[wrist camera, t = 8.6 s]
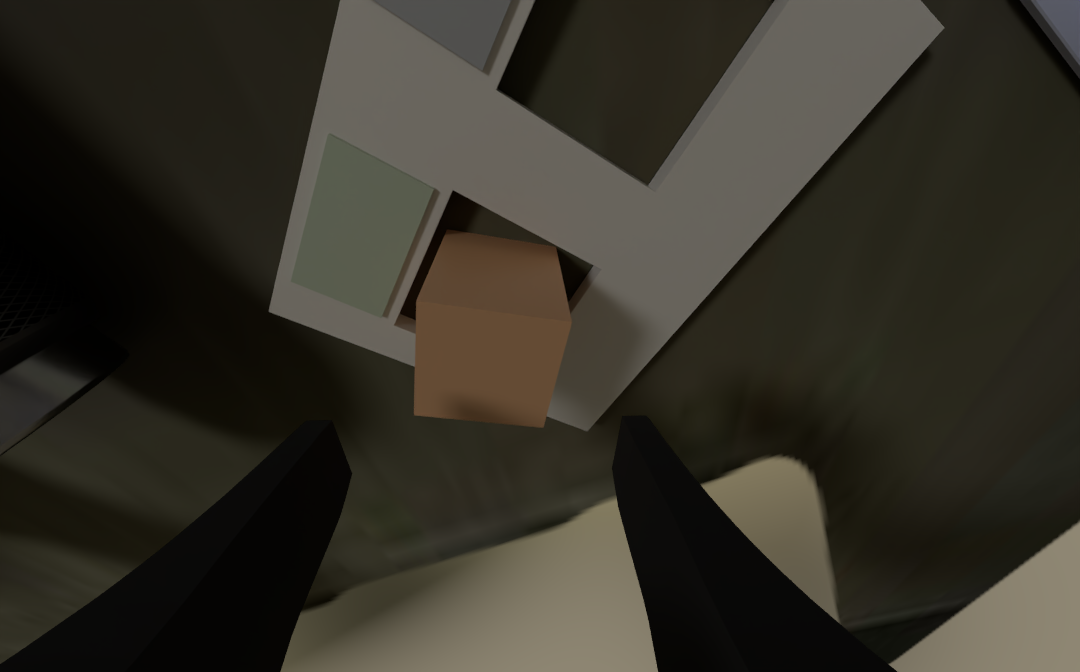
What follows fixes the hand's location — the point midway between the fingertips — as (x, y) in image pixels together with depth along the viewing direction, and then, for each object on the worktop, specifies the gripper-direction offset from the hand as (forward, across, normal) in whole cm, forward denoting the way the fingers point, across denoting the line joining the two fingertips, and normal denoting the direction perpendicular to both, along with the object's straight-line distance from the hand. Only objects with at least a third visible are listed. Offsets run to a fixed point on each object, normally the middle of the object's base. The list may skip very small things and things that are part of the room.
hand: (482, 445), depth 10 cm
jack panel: (+9, -2, -4) cm, 10 cm away
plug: (+9, 0, 0) cm, 9 cm away
